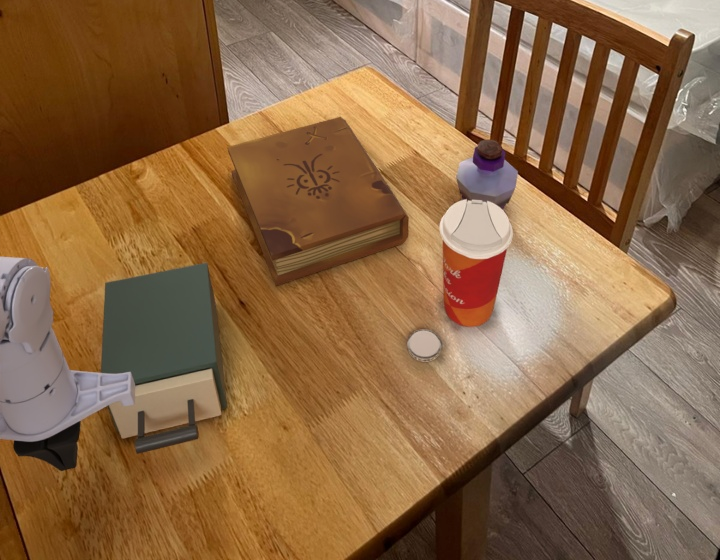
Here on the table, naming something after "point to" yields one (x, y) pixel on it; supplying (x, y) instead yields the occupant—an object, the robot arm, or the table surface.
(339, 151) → the diary
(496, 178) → the potion bottle
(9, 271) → the robot arm
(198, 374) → the drawer
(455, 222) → the coffee cup
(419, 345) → the white bottle cap
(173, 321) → the cabinet
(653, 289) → the table surface
